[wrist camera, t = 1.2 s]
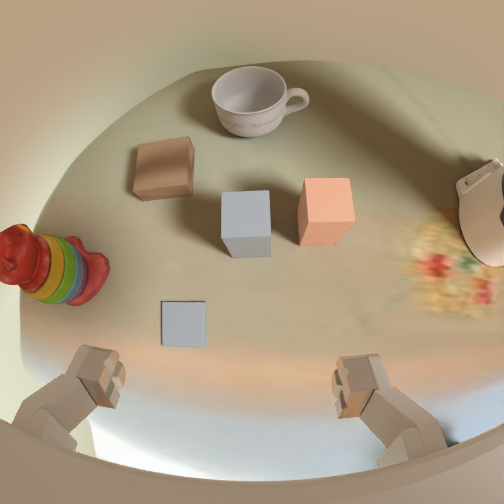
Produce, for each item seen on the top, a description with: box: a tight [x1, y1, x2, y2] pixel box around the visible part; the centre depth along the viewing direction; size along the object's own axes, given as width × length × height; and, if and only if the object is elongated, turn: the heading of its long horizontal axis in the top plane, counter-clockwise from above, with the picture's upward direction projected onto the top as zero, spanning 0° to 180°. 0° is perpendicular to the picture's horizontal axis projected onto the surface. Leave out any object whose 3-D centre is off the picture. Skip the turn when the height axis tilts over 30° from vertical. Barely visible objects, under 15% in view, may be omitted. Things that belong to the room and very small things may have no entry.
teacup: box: [211, 66, 309, 137], centre depth 40 cm, size 14×11×8 cm
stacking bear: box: [0, 224, 110, 306], centre depth 32 cm, size 11×10×18 cm
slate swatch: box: [162, 302, 207, 348], centre depth 38 cm, size 6×6×1 cm
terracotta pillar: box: [297, 178, 355, 246], centre depth 35 cm, size 5×5×10 cm
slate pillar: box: [221, 190, 271, 258], centre depth 35 cm, size 5×5×10 cm
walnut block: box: [133, 137, 195, 201], centre depth 41 cm, size 8×8×4 cm
